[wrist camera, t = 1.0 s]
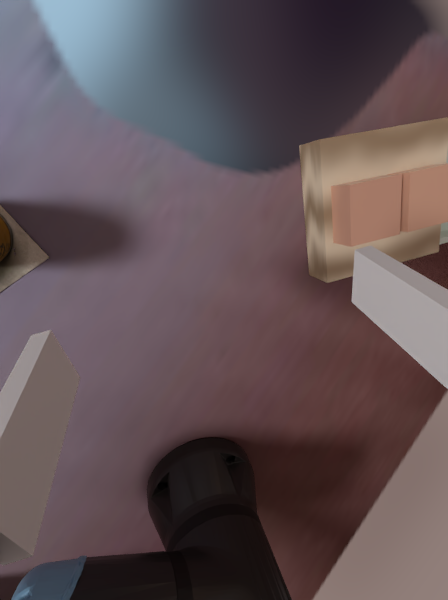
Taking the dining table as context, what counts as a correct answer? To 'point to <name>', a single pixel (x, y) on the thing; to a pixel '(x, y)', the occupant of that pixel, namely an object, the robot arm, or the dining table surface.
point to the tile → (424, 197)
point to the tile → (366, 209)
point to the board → (356, 166)
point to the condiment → (3, 263)
